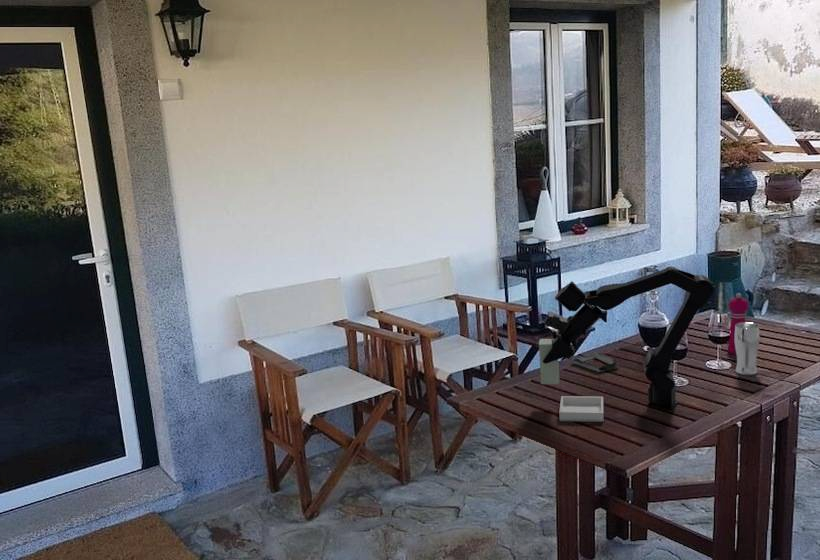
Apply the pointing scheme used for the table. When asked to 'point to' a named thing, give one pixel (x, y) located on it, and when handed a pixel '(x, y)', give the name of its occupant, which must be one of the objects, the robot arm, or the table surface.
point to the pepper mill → (736, 317)
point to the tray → (581, 408)
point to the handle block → (548, 364)
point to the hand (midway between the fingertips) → (544, 359)
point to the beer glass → (746, 347)
